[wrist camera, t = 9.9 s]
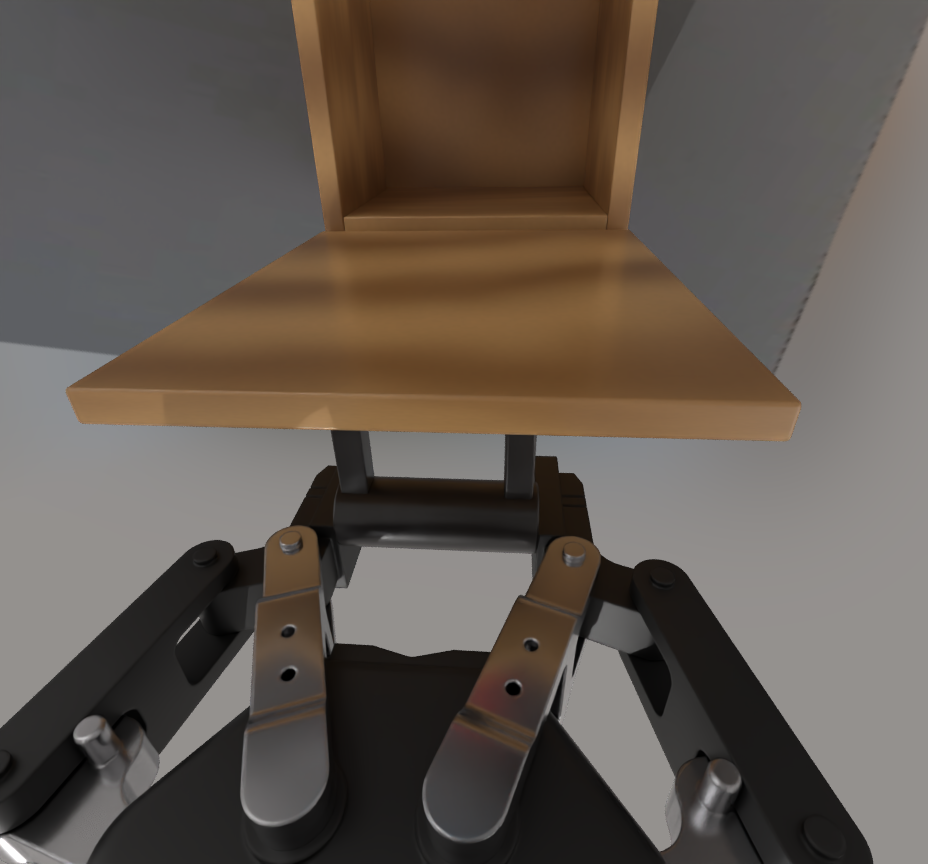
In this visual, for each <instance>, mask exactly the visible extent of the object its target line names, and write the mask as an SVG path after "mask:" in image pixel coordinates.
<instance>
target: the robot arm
mask: <svg viewBox="0 0 928 864" xmlns="http://www.w3.org/2000/svg"><path fill="white" fill-rule="evenodd" d="M534 481H535V482H537V484H538V487H539V538H538V548H537V551H536V553H535V554H532V577H533V580H532V582H531V584H530V587H529V589H528V591H527V593H526V595H525V596H523V595H519V596H518V598H517V599H516V601H515V603H514V605H513V607H512V609H511V611H510V613H509V615H508V618H507V619H506V622H505V624H504V626H503V628H502V630H501V632H500V634H499V636H498V638H497V640H496V642H495V644H494V646H493V649H492V650H491V652H478V651H462V650H451V651H445V652H440V653H434V654H428V655H422V656H416V657H409V656H405V655H402V654H399V653H395V652H392V651H389V650H386V649H382V648H379V647H376V646H373V645H356V644H338V643H336V635H335V625H334V615H333V605H332V600H331V597H332V595H333V592H334V589H335V588H347V587H348V585H349V582H350V580H351V577H352V573H353V571H354V568H355V565H356V562H357V559H358V556H359V553H360V550H361V547H362V546H342V545H340V544H339V543H338V542H337V540H336V538H335V534H334V528H333V506H334V499H335V494H336V490H337V487H338V485H339V482H340V481H339V476H338V470H337V466H327V467H326V468H325V469H324V470H322V471H321V472H320V473H319V474H318V475H317V476H316V477H315V479H314V481H313V483H312V485H311V488H310V489H309V491H308V492H307V494H306V497H305V498H304V500H303V502H302V504H301V506H300V508H299V510H298V512H297V514H296V515H295V517H294V519H293V521H292V523H291V525H290V527H286V528H283V529H281V530H279V531H277V532H276V533H274V534H273V535H272V536H271V537H270V538H269V539H268V541H267V542H266V545H265V547H262V548H258V549H254V550H248V551H243V552H238V553H235V551H234V548H233V546H232V545H231V544H230V543H228V542H226V541H222V540H213V541H207V542H203V543H201V544H199V545H196V546H194V547H192V548H191V549H189V550H188V551H187V552H186V553H185V554H184V555H183V556H182V557H180V558H179V559H178V560H177V561H176V562H175V563H174V564H173V565H172V566H171V567H170V568H169V569H168V570H167V571H166V572H165V573H163V575H161V576H160V577H159V578H158V579H157V580H156V581H155V582H154V583H153V584H152V585H151V586H150V587H149V588H148V589H147V590H146V591H145V592H143V594H141V595H140V596H139V598H137V599H136V600H135V601H134V602H133V603H132V604H131V605H130V606H129V607H128V608H127V609H126V610H125V611H123V613H121V614H120V615H119V616H118V617H117V618H116V619H115V620H114V621H113V622H112V623H111V624H110V625H109V626H108V627H107V628H106V629H105V630H103V631H102V632H101V633H100V634H99V635H98V636H97V637H96V638H95V639H94V640H93V641H92V642H91V643H90V644H89V645H88V646H87V647H86V648H85V649H84V650H82V651H81V652H80V653H79V654H78V655H77V656H76V657H75V658H74V659H73V660H72V661H71V662H70V663H69V664H68V665H67V666H66V667H65V668H64V669H63V670H61V671H60V672H59V673H58V674H57V675H56V676H55V677H54V678H53V679H52V680H51V681H50V682H49V683H48V684H47V685H46V686H45V687H44V688H43V689H42V690H40V691H39V692H38V693H37V694H36V695H35V696H34V697H33V698H32V699H31V700H30V701H29V702H28V703H27V704H26V705H25V706H24V707H22V708H21V709H20V711H18V712H17V713H16V714H15V715H14V716H13V717H12V718H11V719H10V720H9V721H8V722H7V723H6V724H5V725H3V726H2V727H1V728H0V859H1V861H3V862H5V863H7V864H873V858H872V855H871V851H870V848H869V846H868V844H867V842H866V840H865V838H864V837H863V835H862V833H861V832H860V830H859V829H858V827H857V826H856V824H855V823H854V821H853V820H852V818H851V817H850V815H849V814H848V812H847V811H846V810H845V808H844V807H843V805H842V803H841V802H840V801H839V799H838V798H837V796H836V795H835V793H834V792H833V790H832V789H831V787H830V786H829V784H828V783H827V781H826V780H825V778H824V777H823V775H822V774H821V772H820V771H819V770H818V768H817V766H816V765H815V763H814V762H813V760H812V759H811V758H810V756H809V755H808V753H807V752H806V750H805V749H804V747H803V746H802V744H801V743H800V741H799V740H798V738H797V737H796V735H795V734H794V732H793V731H792V729H791V728H790V727H789V725H788V723H787V722H786V721H785V719H784V718H783V716H782V715H781V713H780V712H779V710H778V709H777V707H776V706H775V704H774V703H773V701H772V700H771V698H770V697H769V696H768V694H767V692H766V691H765V689H764V688H763V686H762V685H761V684H760V682H759V681H758V679H757V678H756V676H755V675H754V673H753V672H752V670H751V669H750V667H749V666H748V664H747V663H746V661H745V660H744V658H743V657H742V655H741V654H740V652H739V651H738V650H737V648H736V647H735V645H734V644H733V642H732V641H731V639H730V638H729V636H728V635H727V633H726V632H725V630H724V629H723V628H722V626H721V624H720V623H719V621H718V620H717V618H716V617H715V615H714V614H713V613H712V611H711V609H710V608H709V607H708V605H707V604H706V602H705V601H704V599H703V598H702V596H701V595H700V594H699V592H698V590H697V589H696V587H695V586H694V585H693V583H692V581H691V580H690V579H689V577H688V576H687V574H686V573H685V572H684V571H683V570H682V569H680V568H679V567H678V566H676V565H674V564H672V563H670V562H667V561H663V560H657V559H656V560H655V559H652V560H645V561H642V562H640V563H639V564H637V565H636V566H635V568H634V569H632V568H629V567H625V566H622V565H619V564H615V563H613V562H611V561H609V560H608V559H606V558H605V557H603V556H602V555H601V554H600V552H599V550H598V548H597V547H596V546H595V545H594V543H593V539H592V533H591V528H590V522H589V516H588V511H587V507H586V500H585V495H584V488H583V484H582V482H581V481H580V480H579V479H578V478H577V476H576V475H575V474H574V473H559V470H558V462H557V457H556V456H535V472H534ZM197 617H200V619H199V621H198V622H197V623H196V624H195V625H194V626H193V627H192V628H191V630H190V631H189V632H188V633H187V634H186V635H185V636H184V637H183V639H182V640H181V641H180V642H179V643H178V644H177V642H178V640H179V638H180V637H181V636H182V634H183V633H184V632H185V631H186V630H187V629H188V628H189V627H190V625H191V624H192V623H193V622H194V621H195V620H196V619H197ZM253 632H254V645H253V662H252V680H251V697H250V706H249V707H248V708H247V709H245V710H244V711H243V712H242V713H240V714H239V715H238V716H237V717H236V718H235V719H233V720H232V721H231V722H230V723H228V724H227V725H226V726H225V727H223V728H222V729H221V730H220V731H219V732H217V733H216V734H215V735H214V736H212V737H211V738H210V739H209V740H208V741H206V742H205V743H204V744H203V745H202V746H200V747H199V748H198V749H197V750H195V751H194V752H193V753H192V754H191V755H189V756H188V757H187V758H186V759H185V760H183V761H182V762H181V763H179V764H178V765H177V766H176V767H175V768H173V769H172V770H171V771H170V772H168V773H167V774H166V775H165V776H164V777H162V778H161V779H160V780H159V781H157V782H156V783H155V784H154V785H153V786H151V785H152V783H153V781H154V780H155V777H156V775H157V773H158V769H159V763H160V760H159V754H160V753H161V752H162V750H163V749H164V748H165V747H166V745H167V744H168V743H169V741H170V740H171V739H172V737H173V736H174V735H175V734H176V732H177V731H178V730H179V728H180V727H181V726H182V724H183V723H184V722H185V721H186V719H187V718H188V717H189V715H190V714H191V713H192V711H193V710H194V709H195V708H196V706H197V705H198V704H199V702H200V701H201V700H202V698H203V697H204V696H205V695H206V693H207V692H208V691H209V689H210V688H211V687H212V685H213V684H214V683H215V682H216V680H217V679H218V677H219V676H220V675H221V674H222V672H223V671H224V670H225V668H226V667H227V666H228V665H229V663H230V662H231V661H232V659H233V658H234V657H235V656H236V654H237V653H238V652H239V650H240V649H241V648H242V646H243V645H244V644H245V642H246V641H247V640H248V639H249V637H250V636H251V635H252V633H253ZM587 639H589V640H591V641H594V642H597V643H600V644H603V645H605V646H608V647H611V648H614V649H617V650H618V651H619V654H620V656H621V659H622V661H623V663H624V665H625V667H626V670H627V672H628V674H629V676H630V679H631V681H632V683H633V685H634V687H635V690H636V692H637V694H638V696H639V698H640V701H641V703H642V705H643V707H644V709H645V712H646V714H647V716H648V718H649V720H650V723H651V725H652V727H653V729H654V731H655V734H656V736H657V738H658V740H659V742H660V745H661V747H662V749H663V751H664V753H665V756H666V758H667V760H668V762H669V764H670V767H671V769H672V771H673V773H674V775H675V780H674V782H673V785H672V788H671V790H670V793H669V796H668V798H667V801H666V806H665V816H666V822H667V825H668V829H669V832H670V837H671V846H670V847H669V848H667V849H665V850H664V851H660V852H659V851H658V849H657V848H656V847H655V845H654V844H653V843H652V841H651V840H650V839H649V837H648V836H647V835H646V834H645V832H644V831H643V830H642V828H641V827H640V826H639V825H638V823H637V822H636V821H635V819H634V818H633V817H632V816H631V814H630V813H629V812H628V810H627V809H626V808H625V807H624V805H623V804H622V803H621V802H620V800H619V799H618V798H617V796H616V795H615V794H614V792H613V791H612V790H611V789H610V787H609V786H608V785H607V784H606V782H605V781H604V780H603V778H602V777H601V776H600V774H599V773H598V772H597V771H596V769H595V768H594V767H593V765H592V764H591V763H590V761H589V760H588V759H587V758H586V756H585V755H584V754H583V752H582V751H581V750H580V749H579V747H578V746H577V745H576V743H575V742H574V741H573V739H572V738H571V737H570V736H569V734H568V733H567V732H566V730H565V729H564V728H563V727H562V724H563V721H564V717H565V713H566V710H567V705H568V701H569V696H570V692H571V689H572V685H573V682H574V679H575V676H576V673H577V669H578V666H579V663H580V660H581V657H582V654H583V651H584V648H585V644H586V641H587Z"/></svg>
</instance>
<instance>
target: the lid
mask: <svg viewBox="0 0 928 864" xmlns="http://www.w3.org/2000/svg"><path fill="white" fill-rule="evenodd" d="M66 394H67V397H68V399H69V401H70V403H71V405H72V408H73V410H74V412H75V414H76V416H77V419H78V421H79V422H80V423H82V424H113V425H152V426H193V427H195V426H196V427H232V428H274V429H312V430H331V434H332V441H333V446H334V452H335V458H336V464H337V470H338V476H339V481H340V482H339V485H338V487H337V490H336V494H335V499H334V506H333V528H334V534H335V538H336V540H337V542H338V543H339V544H340V545H342V546H362V547H386V548H387V547H388V548H409V549H410V548H411V549H433V550H458V551H480V552H504V553H528V554H535V553H536V551H537V548H538V538H539V487H538V484H537V482H535V481H534V472H535V454H536V438H537V435H552V436H553V435H554V436H592V437H632V438H635V437H636V438H672V439H713V440H752V441H788V440H790V438H791V436H792V433H793V430H794V427H795V424H796V422H797V418H798V415H799V413H800V410H801V402H800V401H799V400H798V399H797V398H796V397H795V396H794V395H793V394H792V393H791V392H790V391H789V390H788V389H787V388H786V387H785V386H784V385H783V384H782V383H781V382H780V381H779V380H778V379H777V378H776V377H775V376H774V375H773V374H772V373H771V372H770V371H769V370H768V369H767V368H766V367H765V366H764V365H763V364H762V363H761V362H760V361H759V360H758V359H757V358H756V357H755V356H754V355H753V354H752V353H751V352H750V351H749V350H748V349H747V348H746V347H745V346H744V345H743V344H742V343H741V342H740V341H739V340H738V339H737V338H736V337H735V336H734V335H733V334H732V332H731V331H730V330H729V329H728V328H727V327H726V326H725V325H724V324H723V323H722V322H721V321H720V320H719V319H718V318H717V317H716V316H715V315H714V314H713V313H712V312H711V311H710V310H709V309H708V308H707V307H706V306H705V305H704V304H703V303H702V302H701V301H700V300H699V299H698V298H697V297H696V296H695V295H694V294H693V293H692V292H691V291H690V290H689V289H688V288H687V287H686V286H685V285H684V284H683V283H682V282H681V281H680V280H679V279H678V278H677V277H676V276H675V275H674V274H673V273H672V272H671V271H670V270H669V269H668V268H667V267H666V266H665V265H664V264H663V263H662V262H661V261H660V260H659V259H658V258H657V257H656V256H655V255H654V254H653V253H652V252H651V251H650V250H649V249H648V248H647V247H646V246H645V245H644V244H643V243H642V242H641V241H640V240H639V239H638V238H637V237H636V236H635V235H634V234H633V233H632V232H631V231H630V230H478V231H323V232H321V233H319V234H318V235H316V236H314V237H313V238H311V239H309V240H308V241H306V242H305V243H303V244H301V245H300V246H298V247H296V248H295V249H293V250H291V251H290V252H288V253H287V254H285V255H283V256H282V257H280V258H278V259H277V260H275V261H273V262H272V263H270V264H269V265H267V266H265V267H264V268H262V269H260V270H259V271H257V272H255V273H254V274H252V275H251V276H249V277H247V278H246V279H244V280H242V281H241V282H239V283H238V284H236V285H234V286H233V287H231V288H229V289H228V290H226V291H224V292H223V293H221V294H220V295H218V296H216V297H215V298H213V299H211V300H210V301H208V302H206V303H205V304H203V305H202V306H200V307H198V308H197V309H195V310H193V311H192V312H190V313H188V314H187V315H185V316H184V317H182V318H180V319H179V320H177V321H175V322H174V323H172V324H170V325H169V326H167V327H166V328H164V329H162V330H161V331H159V332H157V333H156V334H154V335H152V336H151V337H149V338H148V339H146V340H144V341H143V342H141V343H139V344H138V345H136V346H135V347H133V348H131V349H130V350H128V351H126V352H125V353H123V354H121V355H120V356H118V357H117V358H115V359H113V360H112V361H110V362H108V363H107V364H105V365H104V366H102V367H100V368H99V369H97V370H95V371H94V372H92V373H91V374H89V375H87V376H86V377H84V378H82V379H81V380H79V381H77V382H76V383H74V384H72V385H71V386H69V387H67V389H66ZM368 431H392V432H432V433H433V432H434V433H472V434H505V466H504V480H471V479H440V478H410V477H378V476H374V471H373V463H372V455H371V447H370V440H369V432H368Z"/></svg>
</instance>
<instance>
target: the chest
mask: <svg viewBox="0 0 928 864" xmlns="http://www.w3.org/2000/svg"><path fill="white" fill-rule="evenodd" d="M291 3H292V10H293V17H294V23H295V30H296V37H297V43H298V50H299V57H300V63H301V70H302V77H303V84H304V90H305V97H306V104H307V110H308V117H309V124H310V130H311V137H312V144H313V151H314V157H315V164H316V171H317V177H318V184H319V191H320V197H321V204H322V211H323V217H324V224H325V231H478V230H628V224H629V216H630V209H631V201H632V194H633V187H634V179H635V172H636V164H637V157H638V149H639V142H640V134H641V127H642V119H643V112H644V104H645V97H646V89H647V82H648V74H649V67H650V59H651V52H652V44H653V37H654V30H655V22H656V15H657V7H658V0H291Z"/></svg>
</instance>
